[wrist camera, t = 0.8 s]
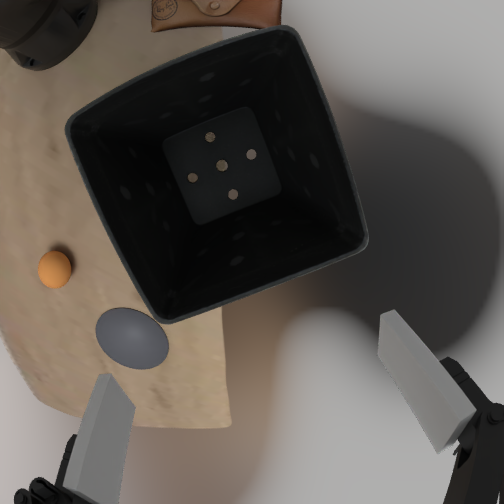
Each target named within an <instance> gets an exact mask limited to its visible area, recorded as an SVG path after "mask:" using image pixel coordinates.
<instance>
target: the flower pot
mask: <svg viewBox="0 0 504 504" xmlns="http://www.w3.org/2000/svg"><path fill="white" fill-rule="evenodd" d="M208 132H212V133H214V134H215V140H214V141H213V142H212V143H208V142H207V141H206V140H205V135H206V133H208ZM65 135H66V138H67V141H68V144H69V146H70V149H71V152H72V154H73V157H74V160H75V162H76V165H77V167H78V170H79V172H80V174H81V177H82V179H83V182H84V184H85V186H86V189H87V191H88V193H89V196H90V198H91V200H92V202H93V205H94V207H95V209H96V211H97V213H98V216H99V218H100V220H101V222H102V224H103V226H104V228H105V230H106V232H107V234H108V236H109V238H110V240H111V242H112V244H113V246H114V248H115V250H116V252H117V254H118V256H119V258H120V260H121V262H122V264H123V266H124V267H125V269H126V271H127V273H128V275H129V277H130V279H131V280H132V282H133V284H134V286H135V288H136V289H137V291H138V293H139V295H140V296H141V298H142V300H143V301H144V303H145V305H146V306H147V308H148V310H149V311H150V313H151V314H152V316H153V317H154V319H155V320H156V321H158V322H159V323H161V324H167V325H169V324H173V323H176V322H179V321H182V320H185V319H187V318H190V317H193V316H196V315H199V314H202V313H204V312H207V311H210V310H213V309H215V308H218V307H221V306H223V305H226V304H229V303H232V302H234V301H237V300H239V299H242V298H245V297H248V296H250V295H253V294H256V293H258V292H261V291H263V290H266V289H269V288H271V287H274V286H277V285H279V284H282V283H284V282H287V281H289V280H292V279H295V278H297V277H300V276H303V275H305V274H308V273H310V272H313V271H315V270H318V269H320V268H323V267H325V266H328V265H330V264H333V263H335V262H337V261H340V260H342V259H345V258H347V257H350V256H352V255H355V254H357V253H359V252H361V251H362V250H364V249H365V247H366V246H367V244H368V240H369V236H368V229H367V225H366V221H365V217H364V214H363V209H362V206H361V202H360V198H359V194H358V191H357V188H356V184H355V181H354V177H353V174H352V170H351V167H350V164H349V161H348V158H347V155H346V152H345V149H344V146H343V143H342V140H341V137H340V134H339V131H338V128H337V125H336V122H335V119H334V117H333V114H332V111H331V109H330V106H329V103H328V101H327V98H326V95H325V93H324V90H323V88H322V85H321V83H320V81H319V78H318V76H317V73H316V71H315V69H314V66H313V64H312V61H311V59H310V57H309V54H308V52H307V50H306V48H305V46H304V44H303V41H302V39H301V37H300V35H299V34H298V32H297V31H296V30H295V29H294V28H292V27H290V26H287V25H277V26H272V27H267V28H264V29H260V30H256V31H252V32H249V33H245V34H242V35H239V36H236V37H232V38H229V39H226V40H223V41H220V42H217V43H215V44H212V45H209V46H206V47H204V48H201V49H198V50H196V51H193V52H190V53H188V54H185V55H183V56H181V57H178V58H176V59H173V60H171V61H169V62H166V63H164V64H162V65H160V66H158V67H155V68H153V69H151V70H149V71H147V72H145V73H143V74H141V75H139V76H137V77H135V78H133V79H131V80H129V81H127V82H125V83H124V84H122V85H120V86H118V87H116V88H114V89H113V90H111V91H109V92H107V93H106V94H104V95H102V96H101V97H99V98H97V99H96V100H94V101H92V102H91V103H89V104H88V105H86V106H85V107H83V108H82V109H80V110H79V111H77V112H76V113H74V114H73V115H72V116H71V117H70V118H69V119H68V121H67V123H66V125H65ZM250 149H254V150H255V151H256V153H257V154H256V158H255V159H253V160H250V159H248V158H247V156H246V153H247V151H248V150H250ZM219 160H225V161H226V162H227V164H228V168H227V170H226V171H224V172H219V171H218V170H217V168H216V163H217V162H218V161H219ZM190 173H195V174H197V176H198V180H197V181H196V182H195V183H190V182H189V181H188V180H187V177H188V175H189V174H190ZM231 189H235V190H237V191H238V197H237V199H235V200H232V199H230V198H229V197H228V192H229V191H230V190H231Z"/></svg>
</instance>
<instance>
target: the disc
mask: <svg viewBox="0 0 504 504" xmlns="http://www.w3.org/2000/svg"><path fill="white" fill-rule="evenodd" d="M96 337H97V340H98V343H99V345H100V346H101V348H102V349H103V351H104V352H105V353H106V354H107V355H108V356H109V357H110V358H111V359H113V360H114V361H116V362H117V363H119V364H121V365H123V366H126V367H129V368H133V369H150V368H153V367H156V366H158V365H159V364H161V363H162V362H163V361H164V360H165V358H166V356H167V354H168V349H169V344H168V339H167V336H166V334H165V332H164V331H163V329H162V328H161V327H160V326H159V324H158V323H157V322H156V321H154V320H153V319H152V318H151V317H149V316H147V315H146V314H144V313H142V312H139V311H137V310H133V309H129V308H115V309H111V310H109V311H107V312H105V313H104V314H103V315H102V316H101V317H100V318H99V320H98V322H97V325H96Z"/></svg>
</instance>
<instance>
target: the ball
mask: <svg viewBox="0 0 504 504" xmlns="http://www.w3.org/2000/svg"><path fill="white" fill-rule="evenodd" d="M38 274H39V277H40V279H41V281H42V282H43V283H44V284H45V285H46V286H48V287H50V288H60V287H62V286H64V285H65V284H66V283H67V282H68V280H69V278H70V275H71V265H70V262H69V260H68V258H67V257H66V256H65V255H64V254H63V253H61V252H58V251H50V252H48V253H46V254H45V255H44V256H43V257H42V258H41V260H40V262H39V265H38Z"/></svg>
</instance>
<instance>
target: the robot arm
mask: <svg viewBox="0 0 504 504" xmlns="http://www.w3.org/2000/svg"><path fill="white" fill-rule="evenodd" d="M96 14H97V0H0V48H2V49H5V50H6V51H7V53H8V54H9V55H10V56H11V57H12V58H13V59H14V61H15V62H16V63H17V64H18V65H20V66H21V67H23V68H26V69H30V70H34V71H39V70H44V69H48V68H50V67H52V66H54V65H56V64H58V63H59V62H61V61H62V60H64V59H65V58H66V57H67V56H69V55H70V54H71V53H72V52H73V51H74V50H75V49H76V48H77V47H78V46H79V45H80V43H81V42H82V41H83V40H84V38H85V37H86V35H87V34H88V32H89V31H90V29H91V27H92V25H93V23H94V20H95V17H96ZM378 357H379V359H380V360H381V362H382V363H383V365H384V366H385V368H386V370H387V371H388V373H389V374H390V376H391V377H392V379H393V381H394V382H395V384H396V385H397V386H398V389H399V390H400V391H401V393H402V395H403V396H404V398H405V400H406V401H407V403H408V405H409V406H410V408H411V410H412V411H413V413H414V415H415V416H416V418H417V420H418V421H419V423H420V425H421V426H422V428H423V430H424V432H425V433H426V435H427V437H428V438H429V440H430V442H431V444H432V445H433V447H434V449H435V451H436V452H437V454H440V453H441V452H443V451H445V450H446V449H448V448H450V447H451V446H452V445H453V444H454V443H455V442H456V440H457V439H458V441H459V443H460V444H459V446H458V447H457V448H456V450H455V451H454V453H453V455H456V453H457V452H458V453H457V457H456V461H455V465H454V469H453V473H452V477H451V480H450V484H449V487H448V490H447V493H446V496H445V499H444V502H443V504H496V503H497V500H498V495H499V496H500V498H499V504H504V405H502V404H498V403H492V402H491V401H490V400H489V399H488V398H487V397H486V396H485V394H484V393H483V392H482V391H481V389H480V388H479V387H478V386H477V384H476V383H475V382H474V381H473V380H472V378H470V376H469V375H468V373H467V372H465V371H464V369H463V368H462V366H461V365H460V364H459V363H458V362H457V361H455V360H453V359H451V358H450V357H446V358H445V359H443V360H441V361H438V360H437V358H436V357H435V356H434V355H433V354H432V352H431V351H430V350H429V349H428V348H427V347H426V345H425V344H424V343H423V342H422V341H421V339H420V338H419V337H418V336H417V335H416V334H415V333H414V331H413V330H412V329H411V328H410V327H409V326H408V324H407V323H406V322H405V321H404V320H403V319H402V318H401V317H400V315H399V314H398V313H397V312H396V311H395V310H392V311H389V312H386V313H383V314H381V316H380V333H379V345H378ZM135 409H136V407H135V406H134V404H133V403H132V402H131V400H130V399H129V398H128V396H127V395H126V394H125V392H124V391H123V390H122V388H121V387H120V386H119V384H118V383H117V381H116V380H115V378H114V377H113V376H112V374H99V376H98V379H97V381H96V384H95V386H94V389H93V392H92V394H91V397H90V400H89V402H88V405H87V408H86V411H85V414H84V416H83V419H82V423H81V425H80V429H79V431H78V434H77V435H76V434H73V435H72V437H71V438H70V439H69V441H68V442H67V445H66V448H65V453H64V455H63V460H62V461H61V465H60V468H59V472H58V475H57V479H56V482H55V485H53V484H51V483H50V482H48V481H47V480H45V479H44V478H42V477H38V478H35V479H34V480H33V481H32V482H31V484H30V486H29V491H27V490H26V489H22V488H21V489H19V490H18V491H17V492H16V493H15V496H14V504H118V503H119V495H120V488H121V482H122V476H123V469H124V463H125V458H126V452H127V447H128V442H129V437H130V432H131V427H132V422H133V418H134V413H135ZM499 491H500V494H499Z"/></svg>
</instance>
